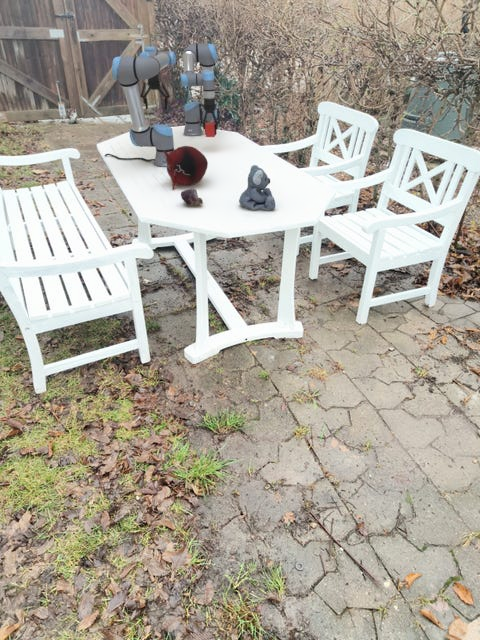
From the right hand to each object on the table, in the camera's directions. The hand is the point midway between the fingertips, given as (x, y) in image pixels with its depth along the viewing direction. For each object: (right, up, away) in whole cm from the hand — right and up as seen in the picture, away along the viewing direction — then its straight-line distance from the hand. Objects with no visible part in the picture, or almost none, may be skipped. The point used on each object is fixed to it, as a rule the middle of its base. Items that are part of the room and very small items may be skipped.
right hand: (210, 134), depth 312 cm
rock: (-5, -70, -81) cm, 107 cm away
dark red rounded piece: (-10, -50, -51) cm, 72 cm away
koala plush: (+29, -71, -83) cm, 113 cm away
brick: (0, -1, +1) cm, 1 cm away
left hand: (-37, +16, -4) cm, 41 cm away
